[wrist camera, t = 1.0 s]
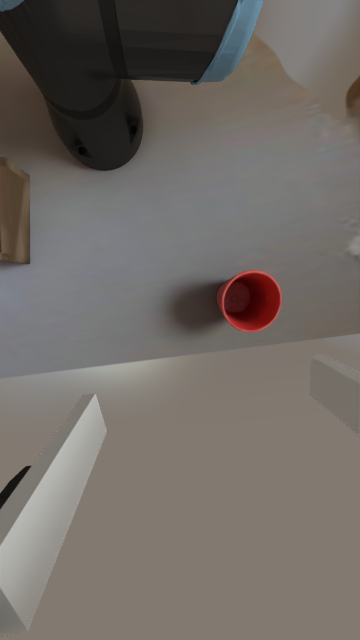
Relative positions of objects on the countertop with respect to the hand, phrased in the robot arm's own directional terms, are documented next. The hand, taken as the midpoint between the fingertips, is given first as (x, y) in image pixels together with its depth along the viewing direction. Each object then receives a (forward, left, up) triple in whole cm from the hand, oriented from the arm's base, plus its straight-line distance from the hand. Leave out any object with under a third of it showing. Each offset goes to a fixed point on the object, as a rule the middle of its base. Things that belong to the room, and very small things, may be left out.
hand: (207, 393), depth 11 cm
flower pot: (+2, +12, -31) cm, 33 cm away
